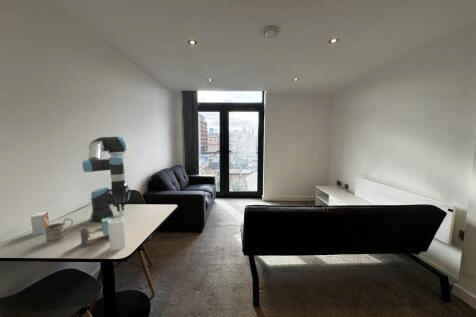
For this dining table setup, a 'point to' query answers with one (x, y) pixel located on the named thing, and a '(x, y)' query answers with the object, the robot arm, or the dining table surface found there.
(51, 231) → the mug
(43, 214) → the small box
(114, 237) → the cup
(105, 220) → the sleeve
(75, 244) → the dining table surface
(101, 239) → the rail
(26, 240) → the dining table surface
